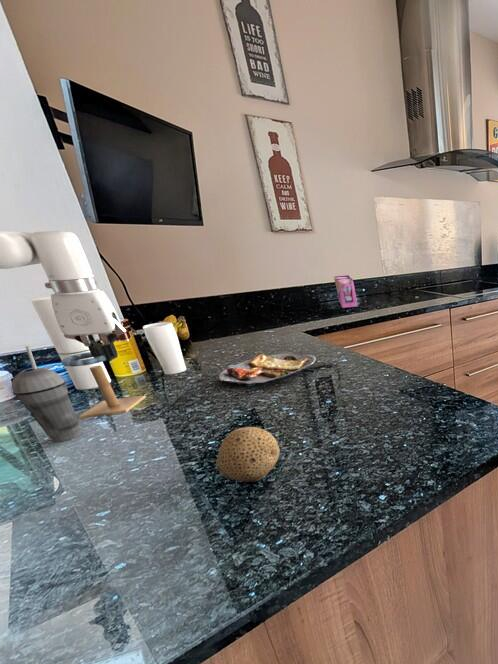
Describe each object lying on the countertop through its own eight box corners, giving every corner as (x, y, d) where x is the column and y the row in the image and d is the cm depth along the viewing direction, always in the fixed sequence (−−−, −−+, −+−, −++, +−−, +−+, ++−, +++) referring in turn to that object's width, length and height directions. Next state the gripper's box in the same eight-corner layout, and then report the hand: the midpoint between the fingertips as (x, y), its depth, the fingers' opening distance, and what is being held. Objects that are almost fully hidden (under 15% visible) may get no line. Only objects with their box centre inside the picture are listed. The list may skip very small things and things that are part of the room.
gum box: (358, 306, 203) (353, 280, 198) (342, 308, 200) (336, 281, 195) (353, 299, 223) (348, 275, 218) (338, 301, 220) (333, 276, 214)
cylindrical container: (113, 379, 115) (73, 294, 105) (111, 386, 110) (68, 297, 100) (79, 386, 111) (34, 297, 101) (75, 394, 106) (27, 301, 96)
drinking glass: (156, 376, 117) (135, 327, 111) (178, 368, 123) (160, 321, 117) (173, 377, 115) (154, 328, 109) (195, 369, 121) (178, 322, 115)
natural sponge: (295, 478, 68) (280, 428, 64) (236, 505, 62) (216, 452, 58) (276, 459, 74) (260, 412, 70) (220, 482, 67) (200, 432, 64)
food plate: (201, 384, 110) (196, 372, 109) (270, 357, 130) (267, 347, 129) (270, 392, 103) (266, 380, 102) (332, 363, 123) (329, 352, 122)
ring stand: (80, 420, 91) (57, 376, 87) (104, 404, 99) (84, 363, 94) (127, 414, 93) (107, 370, 89) (147, 399, 101) (129, 358, 97)
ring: (53, 369, 95) (50, 363, 94) (78, 357, 103) (76, 352, 102) (100, 364, 97) (97, 359, 96) (121, 353, 105) (119, 348, 105)
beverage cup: (44, 437, 84) (-8, 348, 76) (91, 424, 89) (47, 340, 81) (40, 449, 80) (-15, 356, 72) (90, 436, 84) (43, 347, 76)
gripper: (20, 290, 88) (57, 367, 95) (106, 286, 93) (136, 360, 100) (45, 286, 95) (78, 358, 102) (124, 282, 99) (151, 352, 106)
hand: (106, 358), depth 101 cm, fingers closed on ring, 1 cm apart
